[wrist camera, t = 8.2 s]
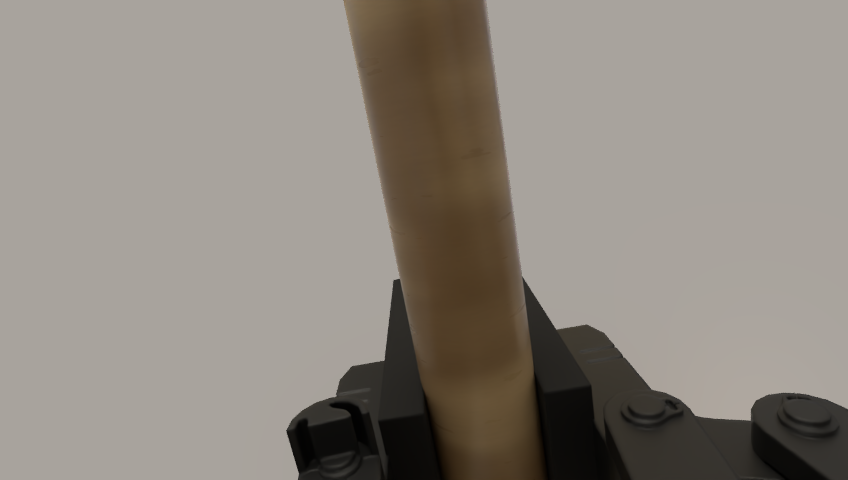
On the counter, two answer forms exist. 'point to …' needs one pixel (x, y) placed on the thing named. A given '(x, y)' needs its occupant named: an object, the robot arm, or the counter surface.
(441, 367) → the stirring stick
